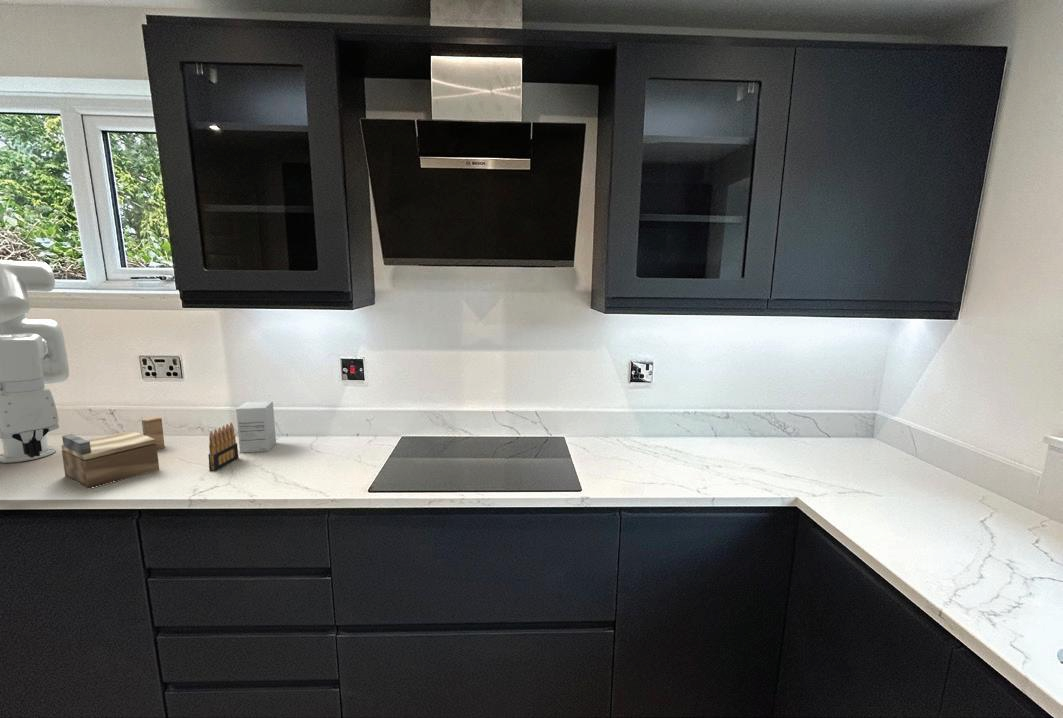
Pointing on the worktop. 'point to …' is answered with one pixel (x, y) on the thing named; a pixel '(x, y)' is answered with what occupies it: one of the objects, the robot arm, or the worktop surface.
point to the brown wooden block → (154, 430)
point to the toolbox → (111, 466)
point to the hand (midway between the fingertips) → (33, 455)
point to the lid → (104, 444)
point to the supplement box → (256, 426)
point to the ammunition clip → (222, 448)
